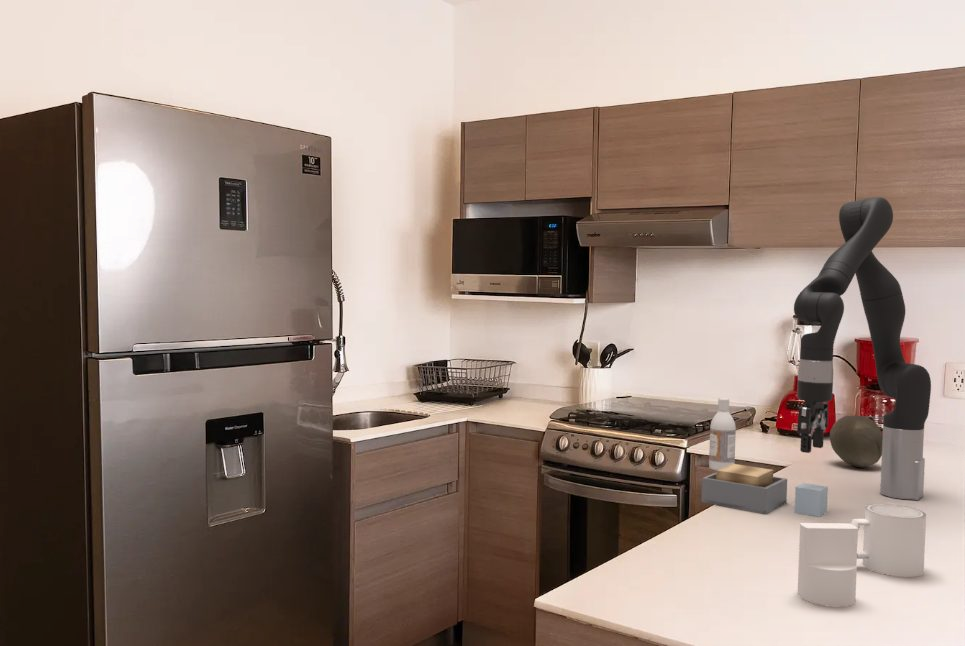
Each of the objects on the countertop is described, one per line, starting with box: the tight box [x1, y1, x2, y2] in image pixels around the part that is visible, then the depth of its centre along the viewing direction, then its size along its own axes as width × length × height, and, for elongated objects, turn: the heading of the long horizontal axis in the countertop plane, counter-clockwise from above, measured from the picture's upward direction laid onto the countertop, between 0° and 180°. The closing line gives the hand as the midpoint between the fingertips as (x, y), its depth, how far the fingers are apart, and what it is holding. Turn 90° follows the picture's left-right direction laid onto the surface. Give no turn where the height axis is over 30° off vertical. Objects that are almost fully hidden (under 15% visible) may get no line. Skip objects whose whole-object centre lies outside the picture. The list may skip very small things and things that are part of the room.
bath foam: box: [708, 397, 737, 471], centre depth 239 cm, size 7×7×20 cm
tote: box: [700, 471, 788, 515], centre depth 203 cm, size 16×14×6 cm
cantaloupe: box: [829, 415, 883, 469], centre depth 245 cm, size 14×14×15 cm
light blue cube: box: [794, 482, 829, 518], centre depth 195 cm, size 6×6×6 cm
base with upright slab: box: [797, 522, 859, 607], centre depth 141 cm, size 9×9×12 cm
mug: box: [850, 503, 927, 578], centre depth 157 cm, size 14×10×11 cm
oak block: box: [715, 463, 774, 488], centre depth 203 cm, size 10×10×7 cm
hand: (811, 449), depth 194 cm, fingers open, 8 cm apart
